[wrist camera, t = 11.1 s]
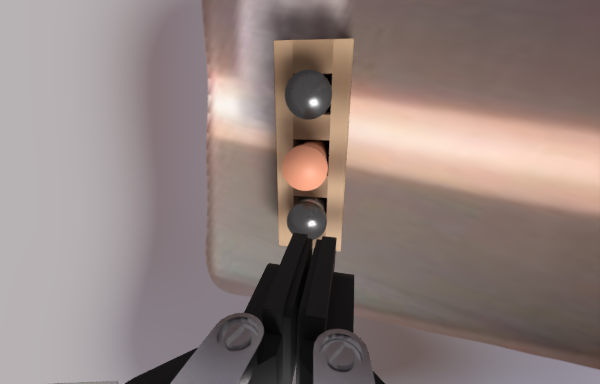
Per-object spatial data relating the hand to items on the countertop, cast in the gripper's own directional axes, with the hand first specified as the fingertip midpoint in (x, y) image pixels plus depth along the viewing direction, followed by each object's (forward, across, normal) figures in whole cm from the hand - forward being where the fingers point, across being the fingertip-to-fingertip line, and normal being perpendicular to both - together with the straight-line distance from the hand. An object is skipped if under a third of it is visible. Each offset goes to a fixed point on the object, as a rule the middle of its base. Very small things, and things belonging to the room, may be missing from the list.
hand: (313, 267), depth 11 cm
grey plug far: (+23, +3, +7) cm, 24 cm away
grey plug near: (+23, +3, -5) cm, 23 cm away
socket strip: (+23, +3, +1) cm, 23 cm away
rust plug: (+21, +3, +1) cm, 21 cm away
